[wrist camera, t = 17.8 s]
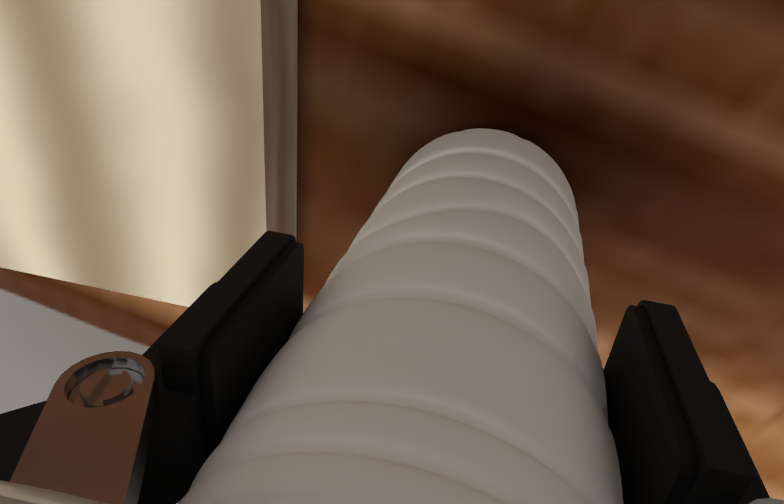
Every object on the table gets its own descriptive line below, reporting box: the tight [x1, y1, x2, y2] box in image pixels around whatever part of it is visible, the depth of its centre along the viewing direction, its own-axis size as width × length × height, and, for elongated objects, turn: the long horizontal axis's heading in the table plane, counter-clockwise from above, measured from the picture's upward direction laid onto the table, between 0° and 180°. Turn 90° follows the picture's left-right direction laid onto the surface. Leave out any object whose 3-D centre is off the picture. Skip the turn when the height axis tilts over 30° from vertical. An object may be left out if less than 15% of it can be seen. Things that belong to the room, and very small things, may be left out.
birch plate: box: [0, 0, 298, 307], centre depth 20 cm, size 14×13×3 cm
